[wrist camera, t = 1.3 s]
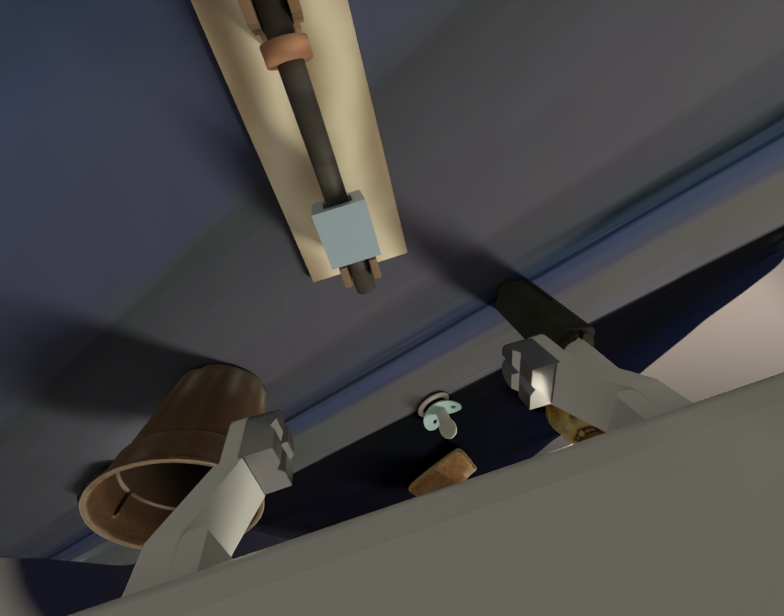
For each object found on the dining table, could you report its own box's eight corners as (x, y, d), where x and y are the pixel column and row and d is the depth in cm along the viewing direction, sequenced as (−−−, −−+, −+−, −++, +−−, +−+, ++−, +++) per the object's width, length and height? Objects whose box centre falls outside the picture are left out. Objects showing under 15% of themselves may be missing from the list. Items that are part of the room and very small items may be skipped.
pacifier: (409, 409, 55) (431, 423, 58) (418, 439, 49) (441, 453, 52) (440, 383, 53) (461, 399, 56) (452, 412, 48) (475, 427, 50)
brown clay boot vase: (435, 496, 71) (460, 578, 58) (399, 482, 65) (418, 569, 52) (486, 458, 67) (525, 537, 54) (453, 439, 61) (487, 522, 49)
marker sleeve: (359, 189, 29) (365, 199, 26) (373, 238, 32) (381, 254, 28) (312, 203, 29) (311, 215, 25) (331, 252, 32) (332, 269, 28)
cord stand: (335, -40, 26) (342, -118, 17) (405, 249, 39) (427, 282, 31) (193, 0, 25) (131, -62, 17) (313, 278, 39) (311, 319, 31)
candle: (493, 311, 47) (633, 462, 26) (500, 280, 45) (662, 420, 23) (524, 308, 48) (683, 453, 27) (532, 278, 46) (716, 412, 24)
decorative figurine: (570, 411, 64) (631, 482, 51) (532, 419, 63) (586, 493, 50) (581, 376, 59) (653, 445, 46) (541, 384, 58) (603, 457, 45)
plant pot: (151, 427, 46) (78, 555, 32) (160, 339, 39) (74, 453, 26) (267, 438, 51) (248, 551, 38) (292, 363, 45) (279, 467, 31)
